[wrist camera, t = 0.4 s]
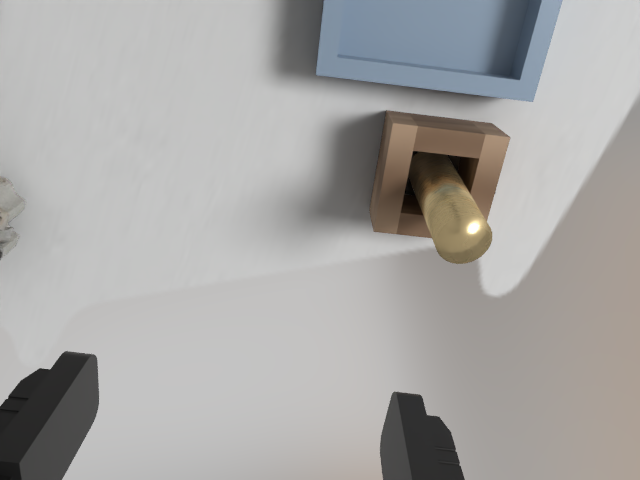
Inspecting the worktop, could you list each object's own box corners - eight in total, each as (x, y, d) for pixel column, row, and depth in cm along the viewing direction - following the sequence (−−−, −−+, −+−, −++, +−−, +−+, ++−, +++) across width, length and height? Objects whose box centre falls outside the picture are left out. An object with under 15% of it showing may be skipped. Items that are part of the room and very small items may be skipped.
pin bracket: (386, 110, 36) (393, 123, 33) (491, 123, 36) (510, 137, 33) (369, 210, 39) (373, 231, 36) (466, 221, 40) (480, 243, 36)
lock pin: (412, 145, 37) (443, 212, 28) (456, 151, 37) (499, 219, 29) (403, 185, 38) (429, 260, 30) (444, 190, 39) (482, 266, 30)
